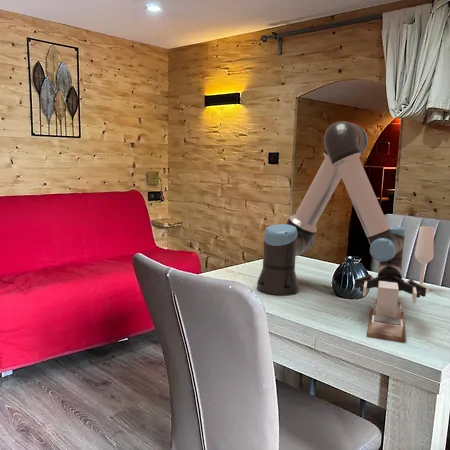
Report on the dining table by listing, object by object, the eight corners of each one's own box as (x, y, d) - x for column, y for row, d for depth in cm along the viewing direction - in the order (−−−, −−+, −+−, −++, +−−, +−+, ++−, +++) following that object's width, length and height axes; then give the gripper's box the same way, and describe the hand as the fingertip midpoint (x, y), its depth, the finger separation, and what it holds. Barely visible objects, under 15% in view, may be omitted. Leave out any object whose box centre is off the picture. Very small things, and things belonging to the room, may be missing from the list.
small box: (395, 325, 129) (399, 289, 127) (375, 322, 131) (378, 287, 129) (395, 316, 137) (398, 282, 135) (375, 313, 138) (378, 280, 137)
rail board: (366, 336, 124) (367, 321, 123) (370, 310, 146) (371, 297, 146) (405, 342, 121) (407, 327, 120) (403, 314, 143) (404, 301, 142)
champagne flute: (407, 287, 175) (413, 226, 171) (417, 285, 179) (423, 225, 175) (424, 292, 169) (430, 229, 166) (433, 289, 173) (440, 227, 170)
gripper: (429, 293, 145) (435, 313, 125) (349, 283, 153) (343, 301, 134) (432, 270, 144) (438, 287, 124) (351, 261, 152) (345, 276, 133)
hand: (389, 294), depth 129 cm, fingers open, 13 cm apart
